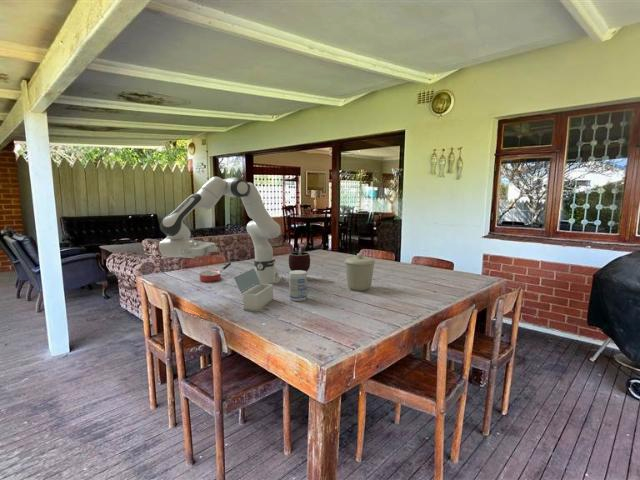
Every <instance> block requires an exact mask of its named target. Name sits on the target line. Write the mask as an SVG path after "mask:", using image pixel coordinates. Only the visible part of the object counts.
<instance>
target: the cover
mask: <svg viewBox="0 0 640 480" xmlns="http://www.w3.org/2000/svg"><path fill="white" fill-rule="evenodd" d="M233 279H234V281H235V283H236V286H237V287H238V290H239V292H240V294H241V295H243V294H244V293H246V292H248V291H249V290H251V289H253V288H254V287H256V286H258V285H259V284H260V282H259V281H260V280H259V278H258V276H257V274H256V271H255V269H254V267H253V268H251V269H249V270H247V271H245V272H243V273H240V274H239V275H236V276H235V277H233ZM257 282H258V283H257ZM255 283H256V284H255Z"/></svg>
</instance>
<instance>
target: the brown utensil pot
mask: <svg viewBox="0 0 640 480" xmlns="http://www.w3.org/2000/svg"><path fill="white" fill-rule="evenodd" d="M288 266H289V270H290V271H294V270H302V271H306V272H308V271H309V269H310V267H311V256H310V252H307V251H302V246H300V247H299V249H298V251H294V252H289V254H288ZM309 280H310V277H308V276H307V282H308V281H309Z"/></svg>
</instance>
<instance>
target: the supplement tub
mask: <svg viewBox="0 0 640 480" xmlns="http://www.w3.org/2000/svg"><path fill="white" fill-rule="evenodd" d="M307 272H308V271H307ZM307 272H306V271H302V270H294V271H291V270H290V271H289V274H288V297H289V300H291V301H294V302H303V301H306V299H308V281H307V277H308V273H307Z"/></svg>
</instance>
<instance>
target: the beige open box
mask: <svg viewBox="0 0 640 480" xmlns="http://www.w3.org/2000/svg"><path fill="white" fill-rule="evenodd" d="M242 299H243V311H249V312H259V310H261V309H262V308H264V307H265V306H266V305H268V304H269V303H271V302H272V301H273V300H274V284H258V285H256V286H254V287H253V288H251V289H249V290H248V291H246V292H244V293H242Z"/></svg>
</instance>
